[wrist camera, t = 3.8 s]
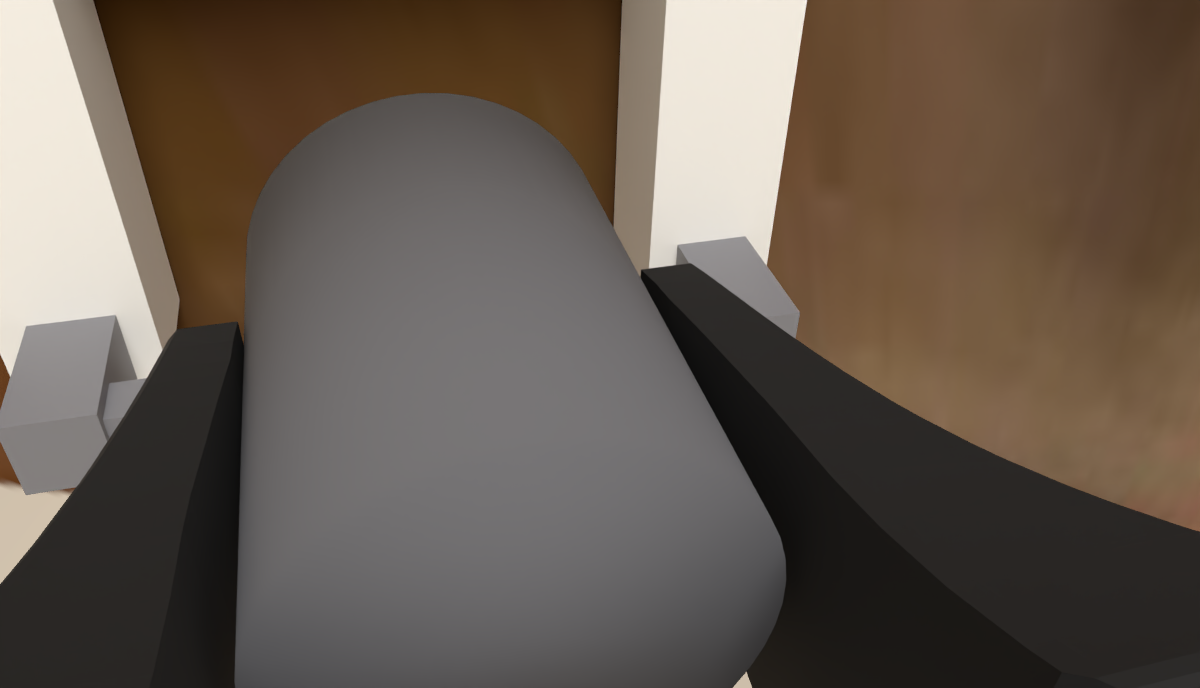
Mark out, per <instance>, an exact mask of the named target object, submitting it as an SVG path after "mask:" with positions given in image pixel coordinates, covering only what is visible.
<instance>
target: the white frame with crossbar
mask: <svg viewBox="0 0 1200 688" xmlns="http://www.w3.org/2000/svg"><path fill="white" fill-rule="evenodd" d="M806 3H807V0H622V18H621V44H620V70H619V97H618V123H617V149H616V176H615V202H614V230H615V232H616V234H617V236H618V237H619V239H620V241H621V243H622V245H623V247H624V248H625V250H626V252H627V254H628V256H629V258H630V259H631V261H632V263H633V265H634V267H635V269H636V271H637V272H638V274H639V276H640V278H641V269H649V268H657V267H664V266H672V265H680V264H688V263H691V264H693V265H694V266H696V267H697V268H699V269H700V270H702V271H703V272H705V273H706V274H707V275H709V276H710V277H712V278H713V279H714V280H716V281H717V282H718V283H720V284H721V285H723V286H724V287H725V288H727V289H728V290H729V291H731V292H732V293H733V294H735V295H736V296H737V297H739V298H740V299H741V300H743V301H744V302H745V303H747V304H748V305H750V306H751V307H752V308H754V309H755V310H756V311H758V312H759V313H760V314H762V315H763V316H764V317H766V318H767V319H769V320H770V321H771V322H773V323H774V324H775V325H777V326H778V327H780V328H781V329H782V330H784V331H785V332H787V333H788V334H789V335H791V336H792V337H794V338H795V337H796V332H797V326H798V321H799V315H800V312H799V310H798V309H797V308H796V306H795V305H794V303H793V302H792V301H791V299H790V298H789V296H788V295H787V294H786V292H785V291H784V289H783V288H782V287H781V285H780V284H779V282H778V281H777V280H776V278H775V277H774V275H773V274H772V273H771V271H770V270H769V268H768V267H767V259H768V253H769V246H770V240H771V233H772V226H773V220H774V213H775V207H776V200H777V194H778V187H779V180H780V174H781V167H782V161H783V154H784V147H785V141H786V134H787V128H788V121H789V115H790V108H791V101H792V95H793V88H794V82H795V75H796V69H797V62H798V55H799V49H800V42H801V36H802V29H803V22H804V16H805V9H806ZM179 301H180V299H179V296H178V292H177V289H176V285H175V282H174V278H173V275H172V271H171V268H170V264H169V261H168V257H167V254H166V251H165V247H164V244H163V240H162V237H161V233H160V230H159V226H158V223H157V219H156V216H155V212H154V209H153V205H152V202H151V199H150V195H149V192H148V188H147V185H146V181H145V178H144V174H143V171H142V167H141V164H140V160H139V157H138V153H137V150H136V147H135V143H134V140H133V136H132V133H131V129H130V126H129V122H128V119H127V115H126V112H125V108H124V105H123V101H122V98H121V95H120V91H119V88H118V84H117V81H116V77H115V74H114V70H113V67H112V63H111V60H110V56H109V53H108V49H107V46H106V43H105V39H104V36H103V32H102V29H101V25H100V22H99V18H98V15H97V11H96V8H95V4H94V1H93V0H0V354H1V357H2V359H3V361H4V363H5V366H6V368H7V370H8V372H9V375H10V380H9V384H8V387H7V390H6V394H5V397H4V400H3V403H2V407H1V410H0V442H1V444H2V446H3V448H4V450H5V452H6V454H7V456H8V458H9V460H10V463H11V465H12V467H13V469H14V471H15V473H16V475H17V477H18V479H19V482H20V484H21V486H22V488H23V490H24V492H25V494H26V495H30V494H36V493H42V492H48V491H55V490H61V489H67V488H74V487H77V486H78V484H79V483H80V482H81V480H82V479H83V477H84V476H85V474H86V473H87V472H88V470H89V469H90V467H91V466H92V464H93V463H94V461H95V460H96V458H97V457H98V455H99V454H100V452H101V450H102V449H103V447H104V446H105V444H106V443H107V441H108V440H109V438H110V437H111V435H112V434H113V432H114V431H115V429H116V428H117V426H118V425H119V423H120V422H121V420H122V418H123V417H124V415H125V414H126V412H127V410H128V409H129V407H130V405H131V404H132V402H133V400H134V399H135V397H136V395H137V394H138V392H139V391H140V389H141V387H142V385H143V384H144V382H145V380H146V379H147V377H148V375H149V373H150V372H151V370H152V368H153V366H154V364H155V363H156V361H157V359H158V357H159V356H160V354H161V352H162V350H163V348H164V347H165V345H166V343H167V341H168V339H169V338H170V337H171V336H172V335H173V334H174V332H175V331H176V329H177V319H178V310H179Z"/></svg>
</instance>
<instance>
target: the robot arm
mask: <svg viewBox="0 0 1200 688" xmlns="http://www.w3.org/2000/svg"><path fill="white" fill-rule="evenodd" d="M641 280H642V282H643V283H644V285H645V287H646V289H647V291H648V293H649V294H650V296H651V298H652V300H653V302H654V304H655V305H656V307H657V309H658V311H659V313H660V315H661V316H662V318H663V320H664V322H665V324H666V326H667V328H668V329H669V331H670V333H671V335H672V337H673V339H674V340H675V342H676V344H677V346H678V348H679V350H680V351H681V353H682V355H683V357H684V359H685V361H686V362H687V364H688V366H689V368H690V370H691V372H692V374H693V375H694V377H695V379H696V381H697V383H698V385H699V386H700V388H701V390H702V392H703V394H704V396H705V397H706V399H707V401H708V403H709V405H710V407H711V408H712V410H713V412H714V414H715V416H716V418H717V419H718V421H719V423H720V425H721V427H722V429H723V431H724V432H725V434H726V436H727V438H728V440H729V442H730V443H731V445H732V447H733V449H734V451H735V453H736V454H737V456H738V458H739V460H740V462H741V464H742V465H743V467H744V469H745V471H746V473H747V475H748V476H749V478H750V480H751V482H752V484H753V486H754V488H755V489H756V491H757V493H758V495H759V497H760V499H761V500H762V502H763V504H764V506H765V508H766V510H767V511H768V513H769V515H770V517H771V519H772V521H773V523H774V525H775V527H776V529H777V531H778V533H779V536H780V538H781V542H782V546H783V550H784V554H785V558H786V585H785V591H784V598H783V603H782V606H781V609H780V612H779V615H778V618H777V621H776V624H775V626H774V628H773V630H772V632H771V634H770V636H769V638H768V640H767V642H766V644H765V646H764V647H763V649H762V650H761V652H760V653H759V655H758V656H757V658H756V659H755V661H754V662H753V664H752V665H751V667H750V668H749V669H748V670H747V674H748V677H749V680H750V682H751V685H752V688H1200V532H1198V531H1195V530H1192V529H1188V528H1185V527H1182V526H1179V525H1176V524H1173V523H1170V522H1167V521H1164V520H1161V519H1158V518H1155V517H1153V516H1150V515H1147V514H1144V513H1141V512H1138V511H1135V510H1132V509H1129V508H1126V507H1123V506H1120V505H1117V504H1115V503H1112V502H1109V501H1106V500H1104V499H1101V498H1099V497H1096V496H1093V495H1091V494H1088V493H1085V492H1083V491H1080V490H1077V489H1075V488H1072V487H1070V486H1067V485H1065V484H1062V483H1060V482H1057V481H1055V480H1053V479H1050V478H1048V477H1046V476H1043V475H1041V474H1039V473H1036V472H1034V471H1032V470H1029V469H1027V468H1025V467H1022V466H1020V465H1017V464H1015V463H1013V462H1010V461H1008V460H1006V459H1004V458H1001V457H999V456H997V455H995V454H993V453H991V452H989V451H986V450H984V449H982V448H980V447H978V446H976V445H974V444H972V443H970V442H968V441H966V440H964V439H962V438H960V437H958V436H956V435H954V434H952V433H950V432H948V431H946V430H944V429H943V428H941V427H939V426H937V425H935V424H933V423H931V422H929V421H927V420H925V419H923V418H921V417H919V416H917V415H916V414H914V413H912V412H910V411H909V410H907V409H905V408H903V407H901V406H900V405H898V404H896V403H894V402H893V401H891V400H889V399H888V398H886V397H884V396H883V395H881V394H880V393H878V392H876V391H875V390H873V389H871V388H870V387H868V386H867V385H865V384H863V383H862V382H860V381H858V380H857V379H855V378H854V377H852V376H850V375H849V374H847V373H846V372H844V371H842V370H841V369H839V368H838V367H836V366H835V365H833V364H832V363H830V362H829V361H827V360H826V359H824V358H823V357H821V356H820V355H818V354H817V353H815V352H814V351H812V350H811V349H809V348H808V347H807V346H805V345H804V344H802V343H801V342H799V341H798V340H797V339H795V338H794V337H792V336H791V335H789V334H788V333H787V332H785V331H784V330H782V329H781V328H780V327H778V326H777V325H775V324H774V323H773V322H771V321H770V320H769V319H767V318H766V317H764V316H763V315H762V314H760V313H759V312H758V311H756V310H755V309H754V308H752V307H751V306H750V305H748V304H747V303H745V302H744V301H743V300H741V299H740V298H739V297H737V296H736V295H735V294H733V293H732V292H731V291H729V290H728V289H727V288H725V287H724V286H723V285H721V284H720V283H718V282H717V281H716V280H714V279H713V278H712V277H710V276H709V275H707V274H706V273H705V272H703V271H702V270H700V269H699V268H697V267H696V266H694V265H693V264H691V263H688V264H680V265H672V266H664V267H657V268H649V269H641ZM243 357H244V345H243V341H242V337H241V333H240V329H239V325H238V322H230V323H223V324H215V325H207V326H199V327H192V328H184V329H177V330H176V331H175V332H174V334H173V335H172V336H171V337H170V338H169V339H168V341H167V343H166V345H165V347H164V348H163V350H162V352H161V354H160V356H159V357H158V359H157V361H156V363H155V364H154V366H153V368H152V370H151V372H150V373H149V375H148V377H147V379H146V380H145V382H144V384H143V385H142V387H141V389H140V391H139V392H138V394H137V395H136V397H135V399H134V400H133V402H132V404H131V405H130V407H129V409H128V410H127V412H126V414H125V415H124V417H123V418H122V420H121V422H120V423H119V425H118V426H117V428H116V429H115V431H114V432H113V434H112V435H111V437H110V438H109V440H108V441H107V443H106V444H105V446H104V447H103V449H102V450H101V452H100V454H99V455H98V457H97V458H96V460H95V461H94V463H93V464H92V466H91V467H90V469H89V470H88V472H87V473H86V474H85V476H84V477H83V479H82V480H81V482H80V483H79V484H78V486H77V487H76V488H75V490H74V491H73V492H72V494H71V495H70V496H69V498H68V499H67V500H66V502H65V503H64V504H63V506H62V507H61V508H60V510H59V511H58V513H57V514H56V515H55V516H54V518H53V519H52V520H51V522H50V523H49V524H48V526H47V527H46V528H45V530H44V531H43V532H42V534H41V535H40V537H39V538H38V539H37V540H36V542H35V543H34V544H33V546H32V547H31V548H30V549H29V550H28V552H27V553H26V554H25V555H24V556H23V558H22V559H21V560H20V561H19V563H18V564H17V565H16V566H15V567H14V569H13V570H12V571H11V572H10V573H9V575H8V576H7V577H6V578H5V579H4V580H3V582H2V583H1V584H0V688H235V683H234V681H235V645H236V609H237V573H238V537H239V501H240V465H241V429H242V393H243Z"/></svg>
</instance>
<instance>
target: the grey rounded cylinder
mask: <svg viewBox="0 0 1200 688" xmlns="http://www.w3.org/2000/svg"><path fill="white" fill-rule="evenodd" d="M785 585H786V558H785V554H784V550H783V546H782V542H781V538H780V536H779V533H778V531H777V529H776V527H775V525H774V523H773V521H772V519H771V517H770V515H769V513H768V511H767V510H766V508H765V506H764V504H763V502H762V500H761V499H760V497H759V495H758V493H757V491H756V489H755V488H754V486H753V484H752V482H751V480H750V478H749V476H748V475H747V473H746V471H745V469H744V467H743V465H742V464H741V462H740V460H739V458H738V456H737V454H736V453H735V451H734V449H733V447H732V445H731V443H730V442H729V440H728V438H727V436H726V434H725V432H724V431H723V429H722V427H721V425H720V423H719V421H718V419H717V418H716V416H715V414H714V412H713V410H712V408H711V407H710V405H709V403H708V401H707V399H706V397H705V396H704V394H703V392H702V390H701V388H700V386H699V385H698V383H697V381H696V379H695V377H694V375H693V374H692V372H691V370H690V368H689V366H688V364H687V362H686V361H685V359H684V357H683V355H682V353H681V351H680V350H679V348H678V346H677V344H676V342H675V340H674V339H673V337H672V335H671V333H670V331H669V329H668V328H667V326H666V324H665V322H664V320H663V318H662V316H661V315H660V313H659V311H658V309H657V307H656V305H655V304H654V302H653V300H652V298H651V296H650V294H649V293H648V291H647V289H646V287H645V285H644V283H643V282H642V280H641V278H640V276H639V274H638V272H637V271H636V269H635V267H634V265H633V263H632V261H631V259H630V258H629V256H628V254H627V252H626V250H625V248H624V247H623V245H622V243H621V241H620V239H619V237H618V236H617V234H616V232H615V230H614V228H613V226H612V225H611V223H610V221H609V219H608V217H607V215H606V214H605V212H604V210H603V208H602V206H601V204H600V202H599V201H598V199H597V197H596V195H595V193H594V191H593V190H592V188H591V186H590V184H589V182H588V180H587V179H586V177H585V175H584V173H583V171H582V169H581V168H580V167H579V165H578V164H577V162H576V161H575V160H574V158H573V157H572V155H571V154H570V153H569V151H568V150H567V149H566V148H565V147H564V146H563V145H562V144H561V143H560V142H559V141H558V140H557V139H556V138H555V137H554V136H553V135H551V134H550V133H549V132H548V131H546V130H545V129H544V128H543V127H541V126H540V125H539V124H537V123H536V122H534V121H532V120H530V119H529V118H527V117H525V116H524V115H522V114H520V113H518V112H516V111H514V110H511V109H509V108H507V107H504V106H502V105H499V104H497V103H494V102H490V101H486V100H482V99H479V98H475V97H470V96H462V95H455V94H447V93H420V94H411V95H403V96H395V97H391V98H387V99H383V100H379V101H375V102H371V103H368V104H366V105H363V106H360V107H358V108H355V109H352V110H350V111H347V112H345V113H343V114H342V115H340V116H338V117H336V118H334V119H332V120H330V121H329V122H327V123H325V124H323V125H322V126H321V127H319V128H318V129H316V130H315V131H314V132H312V133H311V134H309V135H308V136H307V137H305V138H304V139H303V140H302V141H301V142H300V143H299V144H298V145H297V146H295V147H294V148H293V149H292V150H291V151H290V152H289V153H288V154H287V155H286V156H285V158H284V159H283V160H282V161H281V163H280V164H279V165H278V166H277V168H276V169H275V170H274V171H273V173H272V174H271V176H270V177H269V179H268V181H267V183H266V184H265V186H264V188H263V189H262V191H261V193H260V195H259V198H258V200H257V203H256V206H255V208H254V211H253V213H252V217H251V222H250V226H249V231H248V235H247V253H246V285H245V321H244V357H243V393H242V429H241V465H240V501H239V537H238V573H237V609H236V645H235V681H234V683H235V688H733V687H734V685H735V684H736V683H737V682H738V681H739V680H740V678H741V677H742V676H743V675H744V674H745V672H746V671H747V670H748V669H749V668H750V667H751V665H752V664H753V662H754V661H755V659H756V658H757V656H758V655H759V653H760V652H761V650H762V649H763V647H764V646H765V644H766V642H767V640H768V638H769V636H770V634H771V632H772V630H773V628H774V626H775V624H776V621H777V618H778V615H779V612H780V609H781V606H782V603H783V598H784V591H785Z"/></svg>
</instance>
